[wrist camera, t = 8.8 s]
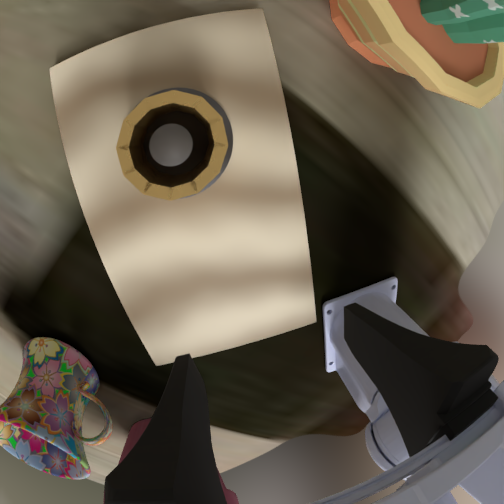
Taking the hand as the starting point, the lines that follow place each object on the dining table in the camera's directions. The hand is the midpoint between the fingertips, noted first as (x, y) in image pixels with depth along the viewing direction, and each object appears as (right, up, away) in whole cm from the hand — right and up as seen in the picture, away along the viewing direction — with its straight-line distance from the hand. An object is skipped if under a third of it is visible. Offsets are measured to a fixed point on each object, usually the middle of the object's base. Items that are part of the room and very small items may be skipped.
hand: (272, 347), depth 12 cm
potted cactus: (+9, +23, +3) cm, 25 cm away
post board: (-5, +8, +6) cm, 11 cm away
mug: (-18, -6, +9) cm, 21 cm away
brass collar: (-5, +11, +3) cm, 12 cm away
